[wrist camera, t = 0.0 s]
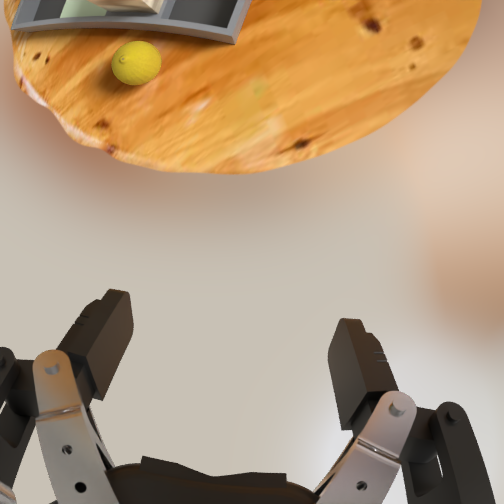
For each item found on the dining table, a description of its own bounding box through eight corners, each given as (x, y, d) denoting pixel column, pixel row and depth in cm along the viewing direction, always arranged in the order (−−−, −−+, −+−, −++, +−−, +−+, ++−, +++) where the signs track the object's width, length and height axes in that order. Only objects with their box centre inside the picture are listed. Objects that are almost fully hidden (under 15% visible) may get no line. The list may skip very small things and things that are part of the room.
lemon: (127, 87, 32) (97, 84, 25) (132, 48, 30) (104, 37, 23) (166, 87, 32) (143, 82, 25) (172, 46, 30) (150, 33, 23)
